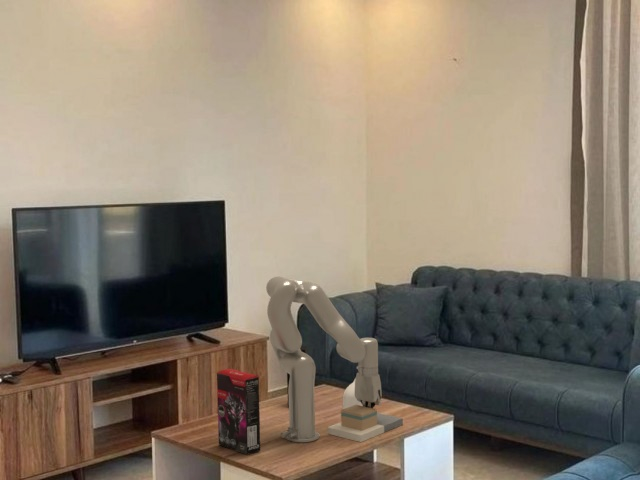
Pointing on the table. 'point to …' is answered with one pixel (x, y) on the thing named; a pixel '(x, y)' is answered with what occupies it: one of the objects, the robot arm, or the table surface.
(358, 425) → the carton
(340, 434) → the grey and cream slab
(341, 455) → the table surface
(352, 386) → the teardrop
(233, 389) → the graphics card box
